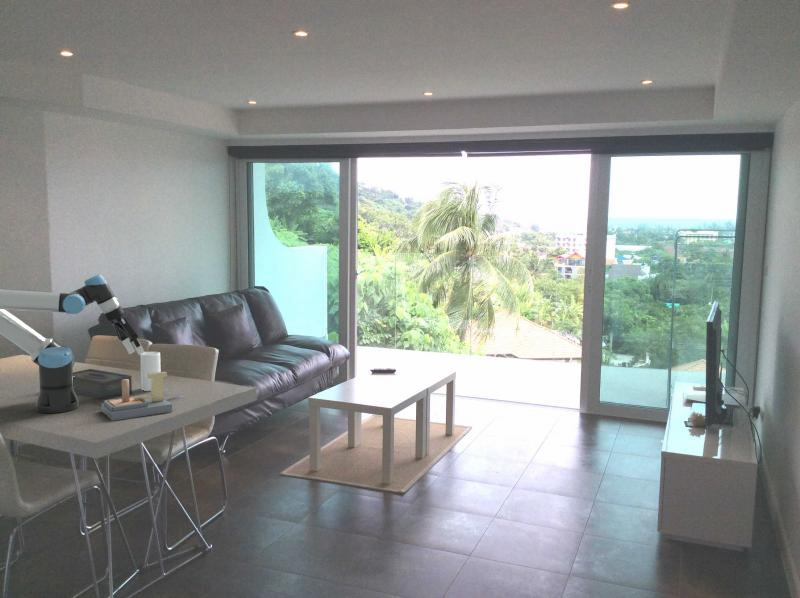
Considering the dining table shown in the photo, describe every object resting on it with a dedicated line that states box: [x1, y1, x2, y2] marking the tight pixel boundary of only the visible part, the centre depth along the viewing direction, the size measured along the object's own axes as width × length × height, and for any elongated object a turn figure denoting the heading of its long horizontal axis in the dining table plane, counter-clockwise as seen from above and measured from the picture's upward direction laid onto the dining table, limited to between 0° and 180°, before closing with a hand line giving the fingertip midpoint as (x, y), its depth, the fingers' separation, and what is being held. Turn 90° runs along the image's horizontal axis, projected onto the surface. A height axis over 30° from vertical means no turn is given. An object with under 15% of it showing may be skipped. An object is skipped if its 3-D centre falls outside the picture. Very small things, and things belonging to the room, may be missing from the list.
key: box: [132, 371, 168, 402], centre depth 264 cm, size 12×2×11 cm, turn 127°
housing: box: [101, 395, 173, 422], centre depth 261 cm, size 22×16×4 cm
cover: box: [109, 378, 143, 407], centre depth 258 cm, size 10×10×10 cm
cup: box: [139, 351, 162, 392], centre depth 298 cm, size 8×8×16 cm
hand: (137, 353), depth 287 cm, fingers open, 13 cm apart
